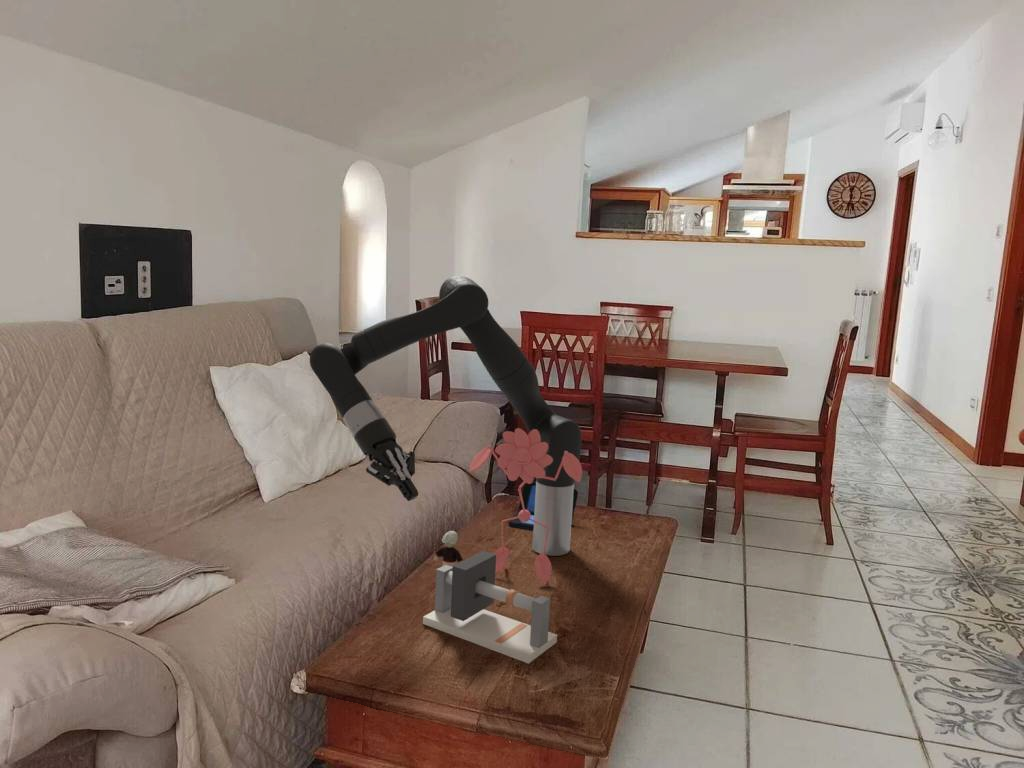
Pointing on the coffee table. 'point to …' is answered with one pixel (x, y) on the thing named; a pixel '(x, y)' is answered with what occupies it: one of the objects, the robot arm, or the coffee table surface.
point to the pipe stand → (494, 620)
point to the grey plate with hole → (471, 585)
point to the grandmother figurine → (449, 550)
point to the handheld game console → (532, 506)
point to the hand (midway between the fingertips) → (413, 498)
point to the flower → (526, 479)
